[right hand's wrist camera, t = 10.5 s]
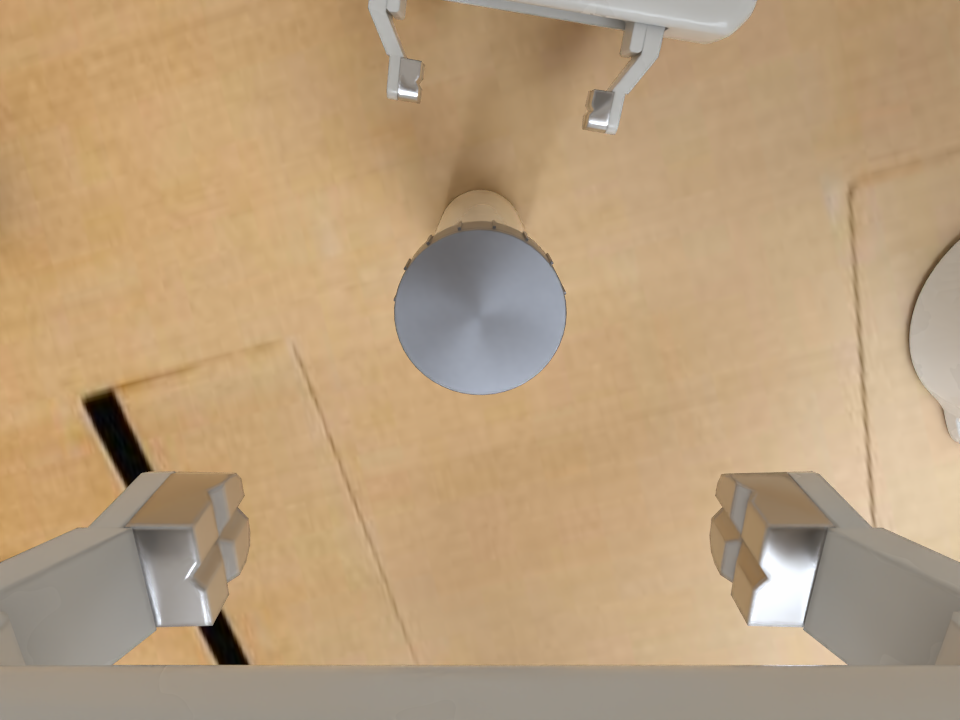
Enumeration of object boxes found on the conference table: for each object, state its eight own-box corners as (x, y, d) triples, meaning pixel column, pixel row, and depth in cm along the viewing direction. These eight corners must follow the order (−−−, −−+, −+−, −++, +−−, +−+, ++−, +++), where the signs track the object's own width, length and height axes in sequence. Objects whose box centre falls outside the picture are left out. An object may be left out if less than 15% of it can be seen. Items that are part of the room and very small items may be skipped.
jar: (522, 271, 38) (552, 377, 22) (441, 274, 38) (413, 382, 22) (521, 188, 36) (552, 237, 20) (436, 191, 36) (402, 243, 20)
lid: (559, 372, 23) (566, 393, 22) (406, 377, 24) (401, 399, 22) (561, 216, 21) (568, 224, 20) (393, 223, 21) (385, 232, 20)
